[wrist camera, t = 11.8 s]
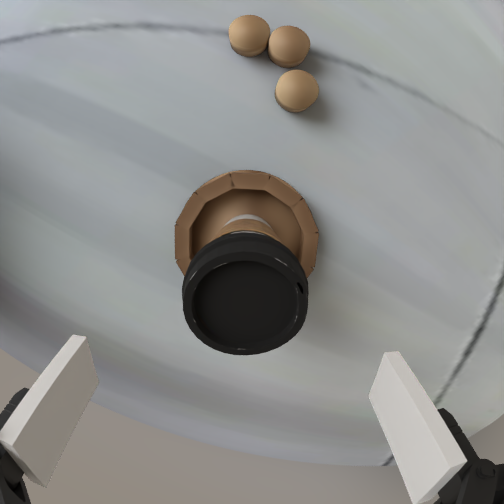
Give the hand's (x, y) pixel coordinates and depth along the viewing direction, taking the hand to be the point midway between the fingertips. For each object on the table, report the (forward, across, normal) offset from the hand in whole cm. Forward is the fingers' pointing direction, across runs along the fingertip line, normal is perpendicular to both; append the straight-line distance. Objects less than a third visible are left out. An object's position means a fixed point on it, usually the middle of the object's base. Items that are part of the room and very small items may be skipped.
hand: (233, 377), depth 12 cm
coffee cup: (+22, +1, 0) cm, 22 cm away
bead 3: (+22, +4, +16) cm, 27 cm away
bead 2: (+22, +4, +21) cm, 30 cm away
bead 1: (+22, 0, +22) cm, 31 cm away
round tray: (+22, 0, 0) cm, 22 cm away
